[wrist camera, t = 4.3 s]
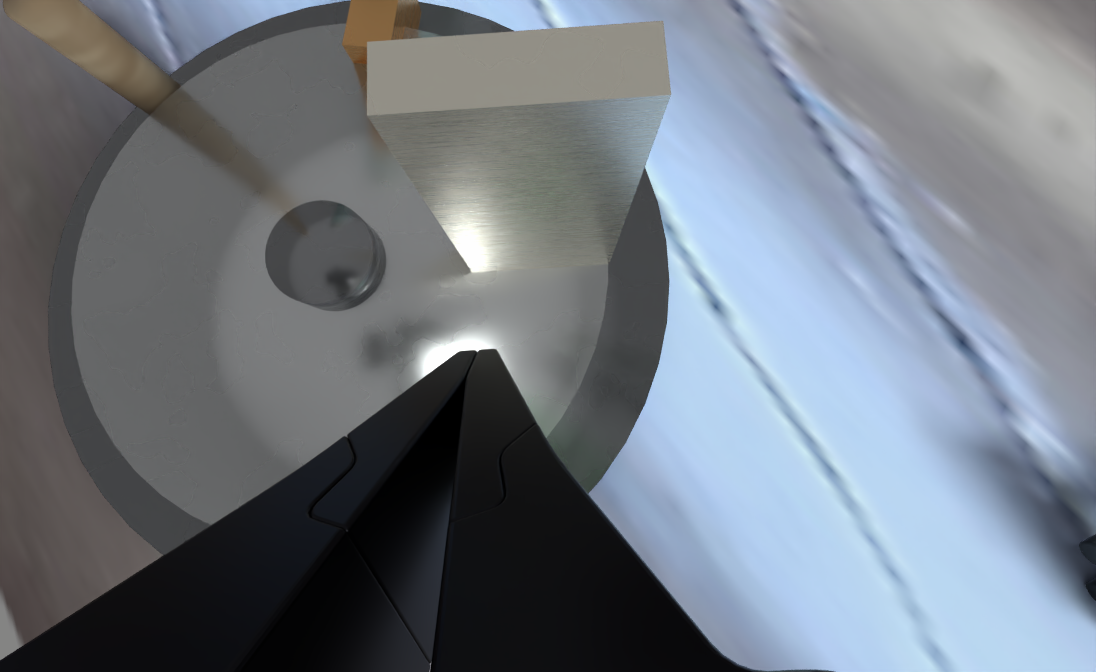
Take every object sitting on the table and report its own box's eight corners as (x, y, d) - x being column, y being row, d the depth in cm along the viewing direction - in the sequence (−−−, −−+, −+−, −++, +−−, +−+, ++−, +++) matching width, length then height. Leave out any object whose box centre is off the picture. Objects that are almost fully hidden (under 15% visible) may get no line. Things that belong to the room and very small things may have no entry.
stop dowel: (179, 134, 21) (33, 32, 15) (147, 115, 22) (-9, 6, 16) (204, 101, 22) (70, -12, 16) (173, 82, 22) (28, -36, 16)
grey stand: (80, 552, 18) (-697, 798, 7) (127, 26, 22) (-339, -379, 10) (625, 523, 18) (738, 732, 7) (583, -7, 21) (611, -463, 10)
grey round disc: (443, 751, 17) (440, 759, 17) (-67, 376, 20) (-80, 376, 20) (777, 178, 20) (782, 173, 20) (295, -81, 23) (290, -90, 23)
